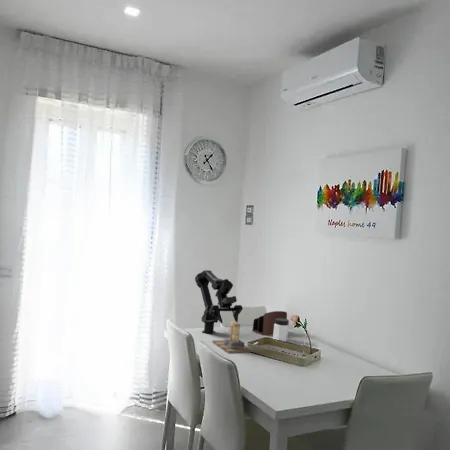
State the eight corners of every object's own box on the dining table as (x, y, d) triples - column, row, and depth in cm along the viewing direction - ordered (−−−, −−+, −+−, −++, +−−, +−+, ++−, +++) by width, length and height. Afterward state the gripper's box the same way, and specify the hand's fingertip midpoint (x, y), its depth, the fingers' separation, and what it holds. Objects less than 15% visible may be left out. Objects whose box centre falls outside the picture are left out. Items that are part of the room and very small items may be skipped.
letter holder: (286, 332, 306) (287, 310, 306) (262, 335, 294) (264, 312, 293) (275, 329, 314) (276, 307, 314) (252, 331, 302) (254, 309, 301)
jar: (290, 340, 286) (292, 320, 286) (280, 342, 281) (282, 321, 280) (279, 337, 293) (281, 317, 292) (270, 338, 288) (271, 318, 287)
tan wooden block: (228, 344, 261) (230, 321, 261) (233, 344, 262) (235, 321, 262) (233, 347, 257) (235, 324, 256) (238, 347, 258) (240, 323, 258)
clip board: (212, 342, 267) (212, 334, 267) (234, 341, 273) (235, 334, 273) (227, 353, 249) (228, 345, 249) (251, 351, 255) (252, 344, 255)
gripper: (212, 290, 266) (219, 315, 256) (242, 291, 274) (250, 314, 264) (205, 301, 273) (212, 326, 264) (235, 301, 281) (242, 325, 272)
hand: (229, 322), depth 265 cm, fingers open, 9 cm apart
